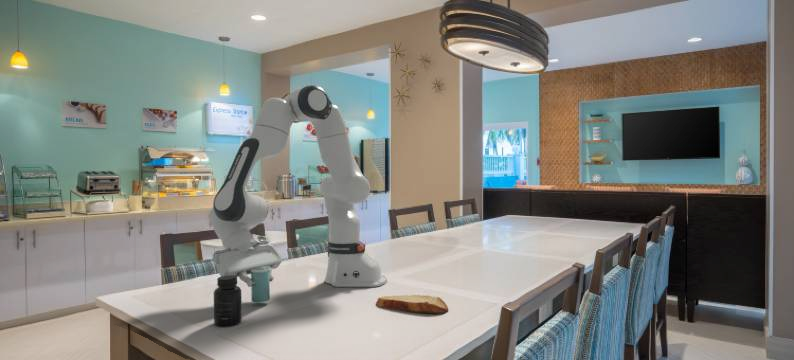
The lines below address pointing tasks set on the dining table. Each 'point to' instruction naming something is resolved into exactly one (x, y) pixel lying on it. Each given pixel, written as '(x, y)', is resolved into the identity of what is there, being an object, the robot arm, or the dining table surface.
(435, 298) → the slice of bread
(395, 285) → the dining table surface
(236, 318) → the supplement bottle
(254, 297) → the cup
